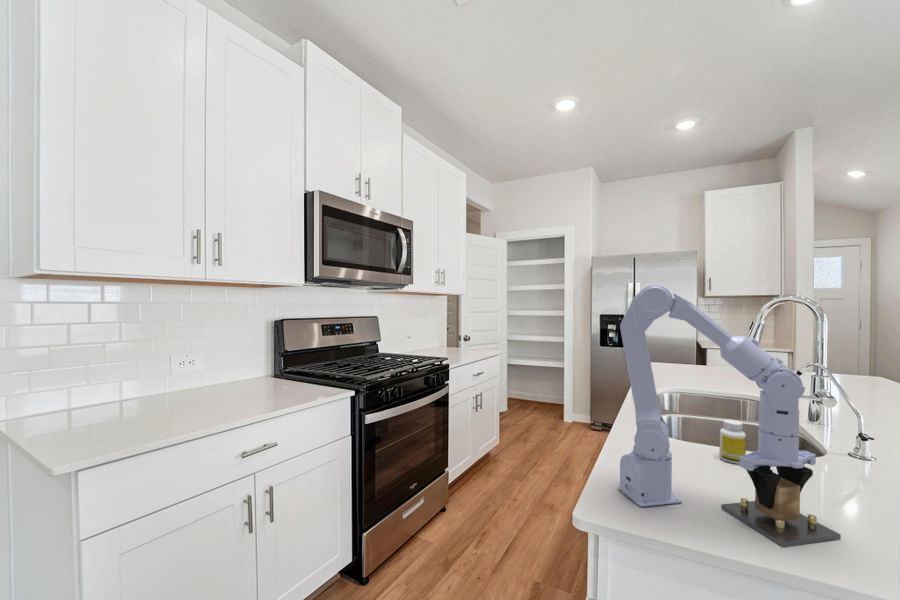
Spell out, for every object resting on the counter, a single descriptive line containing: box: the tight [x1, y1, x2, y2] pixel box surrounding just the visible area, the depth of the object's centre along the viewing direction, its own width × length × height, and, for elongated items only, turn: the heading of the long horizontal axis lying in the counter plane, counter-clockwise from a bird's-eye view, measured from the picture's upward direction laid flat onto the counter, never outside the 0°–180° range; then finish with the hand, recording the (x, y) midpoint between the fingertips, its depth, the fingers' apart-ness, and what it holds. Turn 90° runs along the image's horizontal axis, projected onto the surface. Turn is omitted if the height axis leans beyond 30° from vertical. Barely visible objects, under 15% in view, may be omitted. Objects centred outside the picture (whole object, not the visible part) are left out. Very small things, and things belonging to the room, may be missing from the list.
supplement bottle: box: [718, 419, 747, 465], centre depth 100 cm, size 5×5×10 cm
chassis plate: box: [720, 498, 842, 548], centre depth 73 cm, size 12×12×3 cm
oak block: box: [754, 478, 801, 521], centre depth 73 cm, size 4×4×6 cm
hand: (777, 504), depth 73 cm, fingers closed on oak block, 4 cm apart
